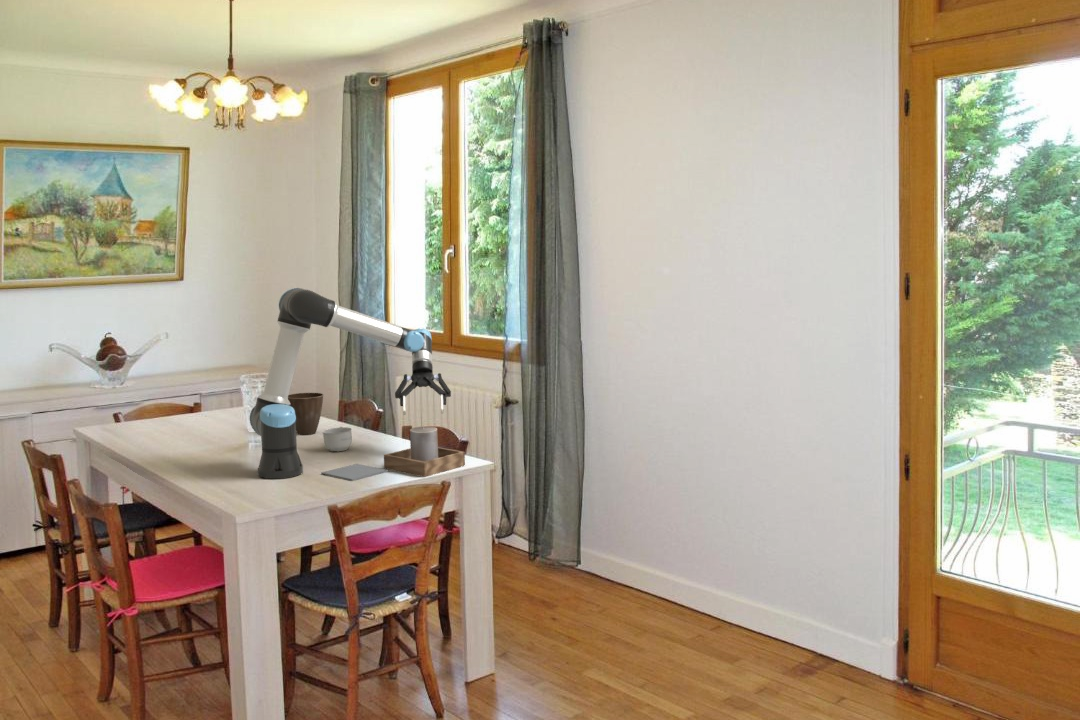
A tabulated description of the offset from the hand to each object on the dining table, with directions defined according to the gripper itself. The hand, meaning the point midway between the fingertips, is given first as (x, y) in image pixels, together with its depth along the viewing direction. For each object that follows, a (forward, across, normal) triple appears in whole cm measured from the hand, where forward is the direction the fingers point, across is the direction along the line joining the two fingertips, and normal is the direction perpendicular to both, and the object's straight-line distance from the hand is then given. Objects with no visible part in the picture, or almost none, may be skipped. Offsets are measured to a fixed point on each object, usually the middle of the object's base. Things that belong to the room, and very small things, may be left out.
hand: (423, 412), depth 359 cm
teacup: (-5, +33, -30) cm, 45 cm away
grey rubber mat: (+23, +24, -2) cm, 33 cm away
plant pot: (-28, +49, -54) cm, 78 cm away
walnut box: (+20, 0, -5) cm, 21 cm away
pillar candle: (+20, 0, -5) cm, 21 cm away
